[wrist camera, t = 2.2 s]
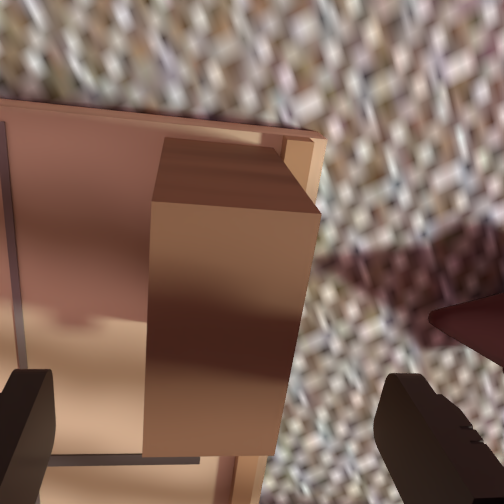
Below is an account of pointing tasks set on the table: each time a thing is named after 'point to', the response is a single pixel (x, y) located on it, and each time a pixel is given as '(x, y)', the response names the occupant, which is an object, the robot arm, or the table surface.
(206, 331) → the block
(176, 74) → the table surface
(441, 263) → the table surface
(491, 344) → the icecream
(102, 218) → the board
